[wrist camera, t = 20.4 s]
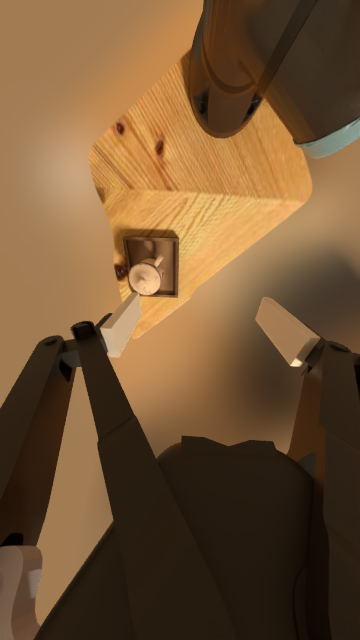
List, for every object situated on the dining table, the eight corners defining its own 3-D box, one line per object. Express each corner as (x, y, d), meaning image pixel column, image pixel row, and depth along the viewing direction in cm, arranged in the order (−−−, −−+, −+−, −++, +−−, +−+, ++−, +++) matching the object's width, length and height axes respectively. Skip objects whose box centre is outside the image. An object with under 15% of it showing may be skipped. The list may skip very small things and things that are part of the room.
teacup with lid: (155, 290, 50) (147, 305, 40) (132, 274, 48) (118, 285, 38) (176, 262, 45) (173, 272, 35) (152, 242, 42) (141, 245, 32)
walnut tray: (179, 238, 42) (178, 238, 40) (178, 294, 52) (177, 297, 50) (125, 236, 43) (122, 236, 41) (134, 293, 52) (132, 295, 50)
